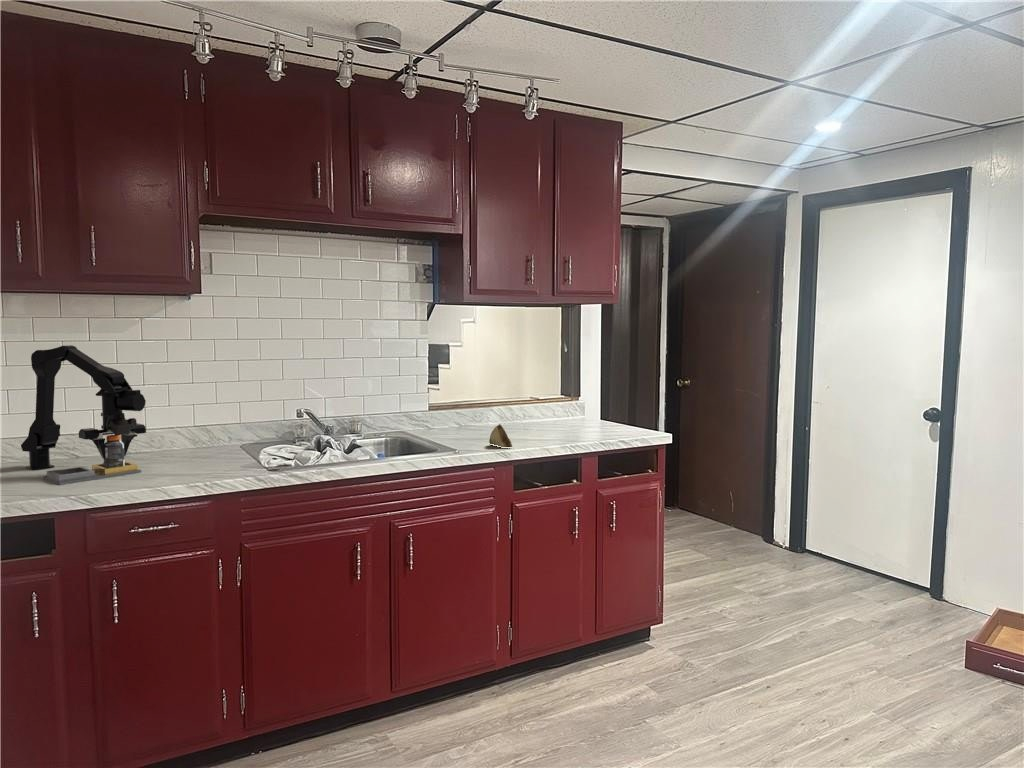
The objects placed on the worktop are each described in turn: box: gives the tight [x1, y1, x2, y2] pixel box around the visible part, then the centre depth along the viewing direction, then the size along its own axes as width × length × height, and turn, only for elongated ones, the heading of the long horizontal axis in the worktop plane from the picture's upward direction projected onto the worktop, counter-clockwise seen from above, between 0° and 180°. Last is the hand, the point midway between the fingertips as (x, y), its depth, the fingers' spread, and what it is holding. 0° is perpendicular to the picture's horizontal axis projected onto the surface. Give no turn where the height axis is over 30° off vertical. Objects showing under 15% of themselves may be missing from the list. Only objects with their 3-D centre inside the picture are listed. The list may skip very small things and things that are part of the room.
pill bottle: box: [103, 434, 126, 468], centre depth 235 cm, size 6×6×11 cm
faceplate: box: [42, 460, 142, 486], centre depth 230 cm, size 13×24×2 cm, turn 141°
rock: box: [488, 423, 513, 447], centre depth 289 cm, size 11×9×10 cm
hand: (114, 457), depth 235 cm, fingers closed on pill bottle, 6 cm apart
